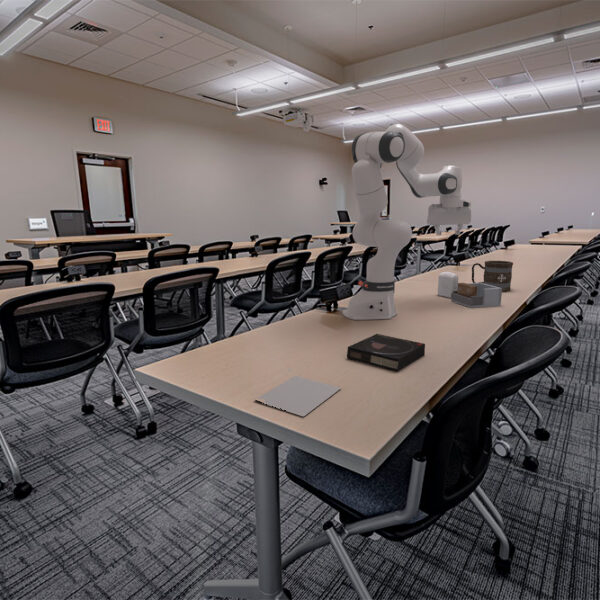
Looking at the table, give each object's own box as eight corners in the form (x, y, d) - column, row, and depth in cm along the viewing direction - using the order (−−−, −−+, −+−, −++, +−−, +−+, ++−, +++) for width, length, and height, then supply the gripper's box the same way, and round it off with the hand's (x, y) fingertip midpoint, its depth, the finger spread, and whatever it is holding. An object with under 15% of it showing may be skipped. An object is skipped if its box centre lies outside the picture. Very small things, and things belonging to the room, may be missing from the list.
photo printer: (458, 298, 197) (460, 273, 194) (452, 299, 195) (453, 273, 192) (442, 294, 206) (443, 270, 203) (436, 295, 204) (437, 271, 201)
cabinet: (470, 308, 176) (471, 290, 174) (450, 301, 190) (451, 284, 189) (500, 305, 179) (502, 288, 178) (478, 299, 194) (480, 282, 192)
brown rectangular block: (469, 304, 179) (471, 286, 177) (456, 299, 188) (457, 283, 187) (476, 304, 179) (477, 286, 178) (462, 299, 189) (463, 282, 187)
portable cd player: (346, 360, 119) (346, 347, 118) (376, 345, 132) (376, 333, 131) (396, 374, 108) (397, 359, 108) (424, 356, 121) (425, 343, 120)
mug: (511, 289, 216) (513, 261, 213) (509, 293, 205) (512, 264, 202) (471, 286, 226) (473, 259, 223) (468, 290, 215) (470, 262, 211)
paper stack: (224, 393, 98) (224, 390, 98) (284, 361, 118) (284, 359, 118) (303, 419, 85) (303, 416, 85) (356, 378, 105) (356, 376, 105)
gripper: (432, 203, 174) (431, 236, 177) (474, 203, 179) (472, 234, 182) (425, 204, 180) (423, 235, 183) (465, 203, 185) (463, 233, 188)
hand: (448, 235), depth 183 cm, fingers open, 8 cm apart
